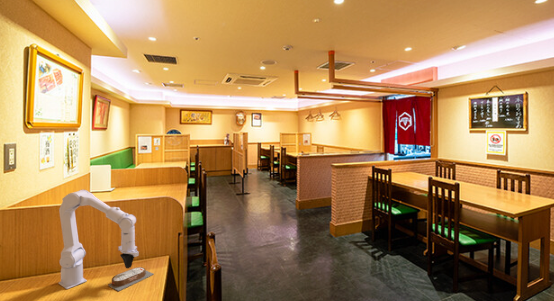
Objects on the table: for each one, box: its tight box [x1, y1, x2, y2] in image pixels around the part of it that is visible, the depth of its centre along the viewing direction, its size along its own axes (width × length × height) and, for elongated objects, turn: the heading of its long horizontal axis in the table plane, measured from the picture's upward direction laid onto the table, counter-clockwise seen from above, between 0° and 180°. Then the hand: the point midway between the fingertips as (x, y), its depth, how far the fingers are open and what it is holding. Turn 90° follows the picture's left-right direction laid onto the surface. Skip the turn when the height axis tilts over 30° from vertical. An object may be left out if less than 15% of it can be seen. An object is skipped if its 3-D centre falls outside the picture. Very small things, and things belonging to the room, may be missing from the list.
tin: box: [110, 266, 147, 287], centre depth 122 cm, size 15×3×8 cm
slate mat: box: [107, 270, 155, 292], centre depth 122 cm, size 9×17×1 cm, turn 149°
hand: (128, 267), depth 124 cm, fingers closed
